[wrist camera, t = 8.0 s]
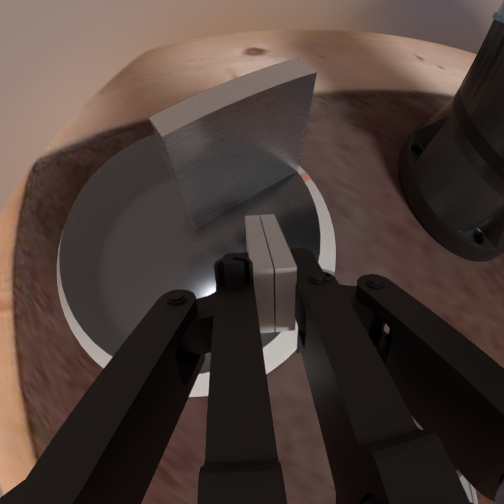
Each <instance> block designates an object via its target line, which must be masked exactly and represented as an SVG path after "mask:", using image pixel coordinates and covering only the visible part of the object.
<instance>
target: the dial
mask: <svg viewBox="0 0 504 504" xmlns="http://www.w3.org/2000/svg"><path fill="white" fill-rule="evenodd" d="M316 74H317V72H316V71H315V70H314V69H312V68H311V67H309V66H308V65H306V64H305V63H304V62H302V61H301V60H299V59H298V58H295V59H292V60H288V61H285V62H282V63H279V64H275V65H272V66H269V67H266V68H263V69H260V70H257V71H255V72H252V73H249V74H246V75H243V76H241V77H238V78H236V79H233V80H230V81H228V82H225V83H223V84H220V85H218V86H215V87H213V88H211V89H208V90H206V91H204V92H201V93H199V94H197V95H194V96H192V97H190V98H188V99H186V100H183V101H181V102H179V103H177V104H175V105H173V106H171V107H169V108H167V109H165V110H163V111H161V112H159V113H157V114H155V115H153V116H151V117H149V120H150V123H151V126H152V129H153V131H154V134H152V135H150V136H147V137H145V138H142V139H140V140H138V141H136V142H134V143H132V144H130V145H128V146H127V147H125V148H124V149H122V150H121V151H119V152H118V153H116V154H115V155H114V156H112V157H111V158H110V159H109V160H107V161H106V162H105V163H104V164H103V165H102V166H101V167H100V168H99V169H98V170H97V171H96V172H95V173H94V174H93V175H92V176H91V177H90V179H89V180H88V181H87V182H86V184H85V185H84V186H83V188H82V189H81V191H80V193H79V194H78V196H77V197H76V199H75V201H74V203H73V205H72V207H71V209H70V211H69V214H68V217H67V219H66V222H65V225H64V229H63V233H62V238H61V244H60V254H59V264H60V276H61V283H62V288H63V291H64V294H65V298H66V301H67V303H68V305H69V308H70V310H71V312H72V314H73V316H74V318H75V319H76V321H77V322H78V324H79V325H80V327H81V328H82V330H83V331H84V332H85V333H86V334H87V335H88V337H89V338H90V339H91V340H92V341H93V342H94V343H95V344H96V345H97V346H99V347H100V348H101V349H102V350H104V351H105V352H106V353H107V354H109V355H111V356H112V357H113V356H114V355H115V353H116V352H117V351H118V349H119V348H120V347H121V345H122V344H123V343H124V342H125V340H126V339H127V338H128V336H129V335H130V334H131V333H132V331H133V330H134V329H135V328H136V326H137V325H138V324H139V322H140V321H141V320H142V319H143V317H144V316H145V315H146V314H147V312H148V311H149V310H150V309H151V307H152V306H153V305H154V304H155V302H156V301H157V300H158V299H159V298H160V297H161V296H162V295H163V294H165V293H167V292H169V291H172V290H177V289H179V290H189V291H191V292H193V293H194V294H195V296H196V299H197V298H201V297H205V296H208V295H210V294H212V293H214V292H215V291H216V281H215V272H214V264H215V262H216V261H218V260H219V259H221V258H222V257H223V256H224V255H225V254H229V253H245V252H247V244H246V227H245V216H250V215H259V217H260V215H267V214H274V215H275V217H276V220H277V222H278V224H279V226H280V229H281V231H282V233H283V236H284V238H285V240H286V242H287V245H288V247H289V249H294V248H306V249H308V250H310V251H311V252H312V253H313V255H314V256H315V258H316V260H317V262H318V261H319V256H320V240H321V234H320V225H319V218H318V214H317V210H316V206H315V203H314V200H313V198H312V196H311V193H310V191H309V189H308V187H307V185H306V184H305V182H304V180H303V179H302V177H301V176H300V174H299V173H298V172H297V171H298V167H299V162H300V157H301V152H302V147H303V142H304V137H305V132H306V127H307V122H308V117H309V111H310V106H311V101H312V95H313V90H314V85H315V79H316ZM280 333H281V332H276V330H275V325H274V332H271V333H261V340H262V348H264V347H265V346H267V345H268V344H269V343H270V342H272V341H273V340H274V339H275V338H276V337H277V336H278V335H279V334H280ZM210 360H211V352H210V353H206V358H205V361H204V364H203V366H202V368H201V370H200V373H199V374H204V373H208V372H210Z"/></svg>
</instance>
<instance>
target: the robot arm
mask: <svg viewBox="0 0 504 504" xmlns="http://www.w3.org/2000/svg"><path fill="white" fill-rule="evenodd" d="M493 19H494V21H493V23H492V25H491V27H490V29H489V31H488V34H487V36H486V38H485V40H484V42H483V44H482V46H481V48H480V50H479V52H478V54H477V56H476V58H475V60H474V62H473V64H472V66H471V67H470V69H469V71H468V73H467V75H466V77H465V79H464V80H463V82H462V84H461V86H460V88H459V90H458V91H457V93H456V95H455V97H454V98H453V100H452V101H451V102H450V103H449V104H448V105H446V106H445V107H444V108H442V109H441V110H439V111H438V112H437V113H435V114H434V115H433V116H431V117H430V118H429V119H427V120H426V121H424V122H423V123H422V124H420V125H419V126H418V127H417V128H415V130H414V131H413V132H412V133H411V134H410V136H409V138H408V140H407V141H406V143H405V145H404V146H403V148H402V150H401V153H400V157H399V176H400V181H401V185H402V188H403V191H404V194H405V196H406V198H407V201H408V203H409V205H410V206H411V208H412V210H413V212H414V213H415V215H416V216H417V218H418V219H419V221H420V222H421V223H422V225H423V226H424V227H425V228H426V230H427V231H428V232H429V233H430V234H431V235H432V236H433V237H434V238H435V239H436V240H437V241H438V242H439V243H440V244H442V245H443V246H444V247H445V248H447V249H448V250H450V251H451V252H453V253H454V254H456V255H458V256H460V257H462V258H465V259H468V260H472V261H478V262H483V261H489V260H492V259H494V258H496V257H497V256H499V255H501V254H502V253H504V1H503V2H502V4H501V6H500V8H499V10H498V12H496V13H494V14H493ZM245 227H246V244H247V252H245V253H229V254H225V255H224V256H223V257H222V258H221V259H219V260H218V261H216V262H215V264H214V272H215V281H216V291H215V292H214V293H212V294H210V295H208V296H205V297H201V298H197V299H196V296H195V294H194V293H193V292H191V291H189V290H179V289H177V290H172V291H169V292H167V293H165V294H163V295H162V296H161V297H160V298H159V299H158V300H157V301H156V302H155V304H154V305H153V306H152V307H151V309H150V310H149V311H148V312H147V314H146V315H145V316H144V317H143V319H142V320H141V321H140V322H139V324H138V325H137V326H136V328H135V329H134V330H133V331H132V333H131V334H130V335H129V336H128V338H127V339H126V340H125V342H124V343H123V344H122V345H121V347H120V348H119V349H118V351H117V352H116V353H115V355H114V356H113V357H112V358H111V360H110V361H109V362H108V364H107V365H106V366H105V368H104V369H103V370H102V372H101V373H100V374H99V376H98V377H97V378H96V380H95V381H94V382H93V384H92V385H91V386H90V388H89V389H88V390H87V392H86V393H85V394H84V396H83V397H82V399H81V400H80V401H79V403H78V404H77V405H76V407H75V408H74V410H73V411H72V412H71V414H70V415H69V417H68V418H67V419H66V421H65V422H64V424H63V425H62V426H61V428H60V429H59V431H58V432H57V433H56V435H55V436H54V438H53V439H52V441H51V442H50V444H49V445H48V446H47V448H46V449H45V451H44V452H43V454H42V455H41V457H40V458H39V460H38V461H37V463H36V464H35V466H34V467H33V469H32V470H31V472H30V473H29V475H28V476H27V478H26V479H25V480H24V481H22V482H21V483H20V484H18V485H17V486H16V487H14V488H13V489H12V490H10V491H9V492H8V493H6V494H5V495H3V496H2V497H1V498H0V504H141V502H142V500H143V498H144V496H145V493H146V491H147V489H148V487H149V484H150V482H151V480H152V478H153V476H154V473H155V471H156V469H157V467H158V464H159V462H160V460H161V458H162V455H163V453H164V451H165V449H166V446H167V444H168V442H169V440H170V438H171V435H172V433H173V431H174V429H175V426H176V424H177V422H178V420H179V417H180V415H181V413H182V411H183V408H184V406H185V404H186V402H187V399H188V397H189V395H190V393H191V390H192V388H193V386H194V384H195V382H196V379H197V377H198V375H199V373H200V370H201V368H202V366H203V364H204V361H205V358H206V353H210V352H211V360H210V375H209V392H208V410H207V430H206V454H205V463H204V465H203V466H202V467H201V468H200V472H199V481H198V504H287V500H286V493H285V486H284V480H283V474H282V468H281V464H280V462H279V460H278V455H277V449H276V441H275V434H274V427H273V420H272V413H271V406H270V398H269V391H268V384H267V377H266V369H265V362H264V355H263V348H262V340H261V333H271V332H274V325H275V330H276V332H283V331H294V330H295V325H296V322H297V326H298V335H297V353H299V352H300V350H301V354H302V358H303V361H304V365H305V369H306V373H307V377H308V380H309V384H310V388H311V392H312V396H313V400H314V404H315V408H316V412H317V416H318V420H319V424H320V428H321V432H322V436H323V440H324V444H325V448H326V452H327V456H328V460H329V464H330V468H331V473H332V477H333V481H334V485H335V490H336V504H473V503H471V502H470V501H469V499H468V496H467V494H466V492H465V490H464V488H463V485H462V483H461V481H460V479H459V477H458V474H457V472H456V470H455V468H454V466H455V467H456V468H457V469H458V471H459V472H460V473H461V474H462V475H463V476H464V478H465V479H466V480H467V481H468V482H469V483H470V484H471V485H472V486H473V487H474V488H475V489H476V490H478V491H479V492H480V493H481V494H483V495H484V496H485V497H487V498H489V499H490V500H492V501H494V503H493V504H504V368H502V367H501V366H500V365H499V364H498V363H496V362H495V361H494V360H493V359H492V358H490V357H489V356H488V355H487V354H486V353H484V352H483V351H482V350H481V349H479V348H478V347H477V346H476V345H475V344H473V343H472V342H471V341H470V340H468V339H467V338H466V337H465V336H463V335H462V334H461V333H459V332H458V331H457V330H456V329H454V328H453V327H452V326H451V325H449V324H448V323H447V322H445V321H444V320H443V319H441V318H440V317H439V316H438V315H436V314H435V313H434V312H432V311H431V310H430V309H428V308H427V307H426V306H424V305H423V304H422V303H420V302H419V301H418V300H416V299H415V298H414V297H412V296H411V295H409V294H408V293H407V292H405V291H404V290H403V289H401V288H400V287H399V286H397V285H396V284H394V283H393V282H392V281H390V280H389V279H387V278H385V277H383V276H379V275H376V274H370V275H364V276H361V277H360V278H359V279H358V280H357V286H347V285H340V284H339V283H338V282H337V280H336V278H335V277H334V276H333V275H332V274H330V273H328V272H324V271H323V270H322V268H321V267H320V265H319V263H318V262H317V260H316V258H315V256H314V255H313V253H312V252H311V251H310V250H308V249H306V248H294V249H289V247H288V245H287V242H286V240H285V238H284V236H283V233H282V231H281V229H280V226H279V224H278V222H277V220H276V217H275V215H274V214H267V215H260V217H259V215H250V216H245ZM385 323H386V324H387V325H388V327H389V328H390V331H389V334H387V333H386V332H385V331H384V326H385ZM411 415H412V416H413V418H414V419H415V420H416V421H417V422H418V423H419V425H420V426H421V427H422V428H423V429H424V430H420V429H419V428H418V427H417V426H416V424H415V423H414V420H413V418H412V416H411ZM452 463H453V464H452ZM453 465H454V466H453Z"/></svg>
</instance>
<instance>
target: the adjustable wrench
mask: <svg viewBox="0 0 504 504" xmlns="http://www.w3.org/2000/svg"><path fill="white" fill-rule="evenodd" d="M456 472H457V474H458V477H459V479H460V481H461V483H462V485H463V488H464V490H465V492H466V494H467V496H468V499H469V501H470V502H471V503H473V504H478V500H477V495H476V490H475V488H474V487H473V486H472V485H471V484H470V483H469V482H468V481H467V480H466V479H465V478H464V476H463V475H462V474H461V473H460V472H459V471H458V469H457V470H456Z"/></svg>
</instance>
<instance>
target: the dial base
mask: <svg viewBox="0 0 504 504" xmlns="http://www.w3.org/2000/svg"><path fill="white" fill-rule="evenodd" d="M297 172H298V173H299V174H300V176H301V177H302V179H303V180H304V182H305V184H306V185H307V187H308V189H309V191H310V193H311V196H312V198H313V200H314V203H315V206H316V210H317V214H318V218H319V225H320V234H321V240H320V256H319V261H318V263H319V265H320V267H321V268H322V270H323V271H324V272H328V273H330V274H332V275H333V276H334V272H335V260H336V245H335V236H334V229H333V225H332V221H331V218H330V214H329V211H328V209H327V207H326V204H325V202H324V199H323V197H322V196H321V194H320V192H319V190H318V189H317V187H316V185H315V184H314V182H313V181H312V180H311V178H310V176H309V175H308V174H307V173H306V172H305V171H304V170H303V169H302V168H301V167H300V166H299V167H298V171H297ZM62 233H63V232H62ZM61 238H62V235H61ZM60 244H61V240H60ZM60 244H59V248H58V257H57V285H58V291H59V297H60V301H61V305H62V308H63V311H64V315H65V317H66V319H67V321H68V324H69V326H70V328H71V330H72V332H73V334H74V335H75V337H76V338H77V340H78V341H79V343H80V344H81V346H82V347H83V348H84V349H85V351H86V352H87V353H88V354H89V355H90V356H91V357H92V359H93V360H94V361H96V362H97V363H98V364H99V365H100V366H101V367H103V368H105V366H106V365H107V364H108V362H109V361H110V360H111V358H112V356H111V355H109V354H107V353H106V352H105V351H104V350H102V349H101V348H100V347H99V346H97V345H96V344H95V343H94V342H93V341H92V340H91V339H90V338H89V337H88V335H87V334H86V333H85V332H84V331H83V330H82V328H81V327H80V325H79V324H78V322H77V321H76V319H75V318H74V316H73V314H72V312H71V310H70V308H69V305H68V303H67V301H66V298H65V294H64V291H63V288H62V283H61V276H60V264H59V254H60ZM297 335H298V326H297V322H296V325H295V330H294V331H283V332H281V333H280V334H279V335H278V336H277V337H276V338H275V339H274V340H273V341H272V342H270V343H269V344H268V345H267V346H265V347H264V348H263V355H264V362H265V369H266V374H267V373H269V372H271V371H272V370H273V369H275V368H276V367H277V366H278V365H280V364H281V363H282V362H284V361H285V360H286V359H287V358H288V357H289V356H290V355H291V354H292V353H293V352H294V351H295V350H296V349H297ZM209 375H210V372H208V373H204V374H199V375H198V377H197V379H196V382H195V384H194V386H193V388H192V390H191V393H190V395H189V397H198V396H208V392H209Z"/></svg>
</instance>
